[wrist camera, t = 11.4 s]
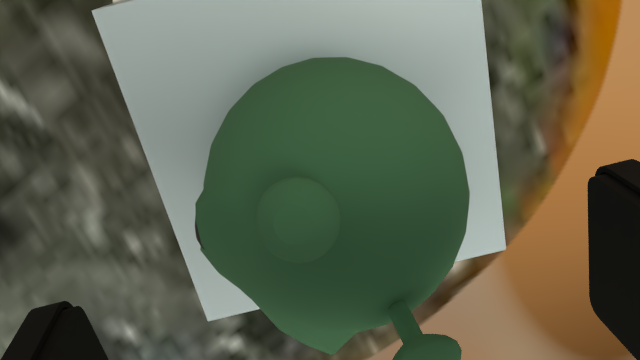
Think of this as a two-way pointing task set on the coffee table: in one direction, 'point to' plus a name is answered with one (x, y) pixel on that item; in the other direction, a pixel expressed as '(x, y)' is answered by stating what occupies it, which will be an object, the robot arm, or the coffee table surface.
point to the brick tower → (268, 56)
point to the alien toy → (336, 203)
